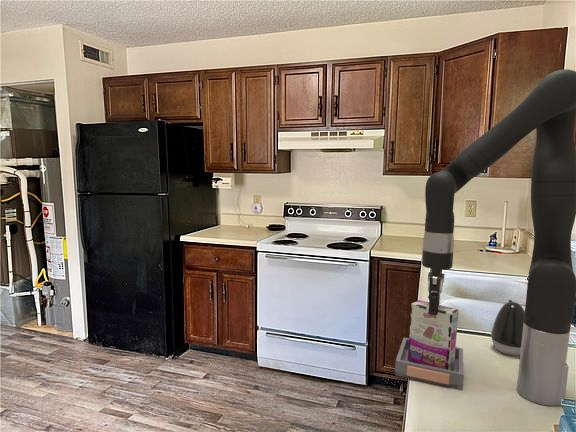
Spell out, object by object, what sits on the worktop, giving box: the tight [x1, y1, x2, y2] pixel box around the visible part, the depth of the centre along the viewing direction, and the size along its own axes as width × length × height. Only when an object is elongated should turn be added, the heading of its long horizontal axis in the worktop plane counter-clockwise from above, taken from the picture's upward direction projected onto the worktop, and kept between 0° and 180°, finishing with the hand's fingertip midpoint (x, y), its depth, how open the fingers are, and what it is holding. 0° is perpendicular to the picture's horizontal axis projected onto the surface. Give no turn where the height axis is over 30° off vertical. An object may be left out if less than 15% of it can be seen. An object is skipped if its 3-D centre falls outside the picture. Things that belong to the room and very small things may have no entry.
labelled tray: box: [394, 337, 464, 391], centre depth 107 cm, size 16×17×4 cm
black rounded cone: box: [490, 299, 525, 356], centre depth 119 cm, size 10×10×15 cm
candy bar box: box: [408, 299, 459, 371], centre depth 107 cm, size 11×5×16 cm, turn 47°
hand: (434, 309), depth 106 cm, fingers open, 8 cm apart
